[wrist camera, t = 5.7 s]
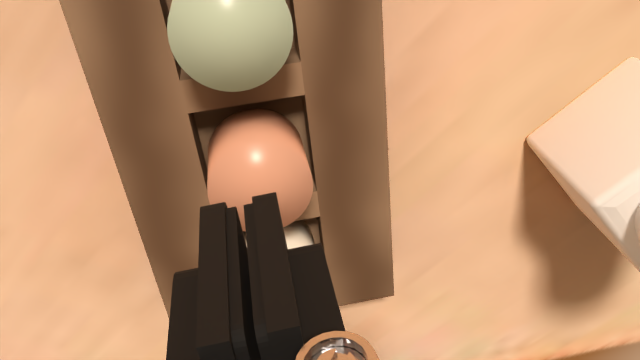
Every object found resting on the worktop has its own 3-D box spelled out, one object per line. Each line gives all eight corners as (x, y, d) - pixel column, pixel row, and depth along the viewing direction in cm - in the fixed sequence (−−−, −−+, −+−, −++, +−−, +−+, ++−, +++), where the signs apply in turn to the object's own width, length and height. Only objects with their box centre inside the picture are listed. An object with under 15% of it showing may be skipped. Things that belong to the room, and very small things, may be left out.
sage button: (275, -57, 23) (284, -40, 20) (289, 52, 25) (300, 81, 22) (160, -42, 22) (152, -22, 20) (186, 68, 25) (183, 100, 22)
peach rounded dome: (296, 101, 27) (307, 135, 24) (307, 183, 29) (318, 222, 26) (198, 117, 26) (196, 153, 23) (218, 198, 29) (219, 240, 26)
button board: (361, -122, 24) (376, -117, 22) (382, 267, 36) (394, 295, 34) (50, -82, 23) (34, -73, 21) (177, 305, 35) (175, 337, 33)
